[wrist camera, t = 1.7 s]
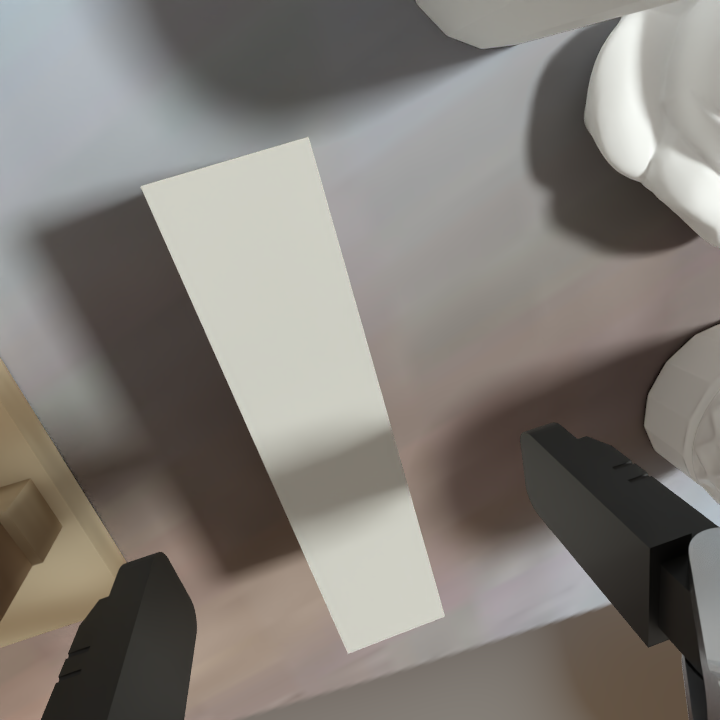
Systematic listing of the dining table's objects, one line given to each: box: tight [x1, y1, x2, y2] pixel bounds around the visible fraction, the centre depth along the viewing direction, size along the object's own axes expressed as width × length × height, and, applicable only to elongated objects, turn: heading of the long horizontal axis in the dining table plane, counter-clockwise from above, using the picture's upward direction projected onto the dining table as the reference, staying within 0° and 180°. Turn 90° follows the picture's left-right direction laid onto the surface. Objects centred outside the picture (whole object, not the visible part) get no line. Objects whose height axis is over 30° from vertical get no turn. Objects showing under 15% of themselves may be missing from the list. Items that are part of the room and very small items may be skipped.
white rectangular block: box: [140, 137, 445, 654], centre depth 14 cm, size 14×3×5 cm, turn 15°
